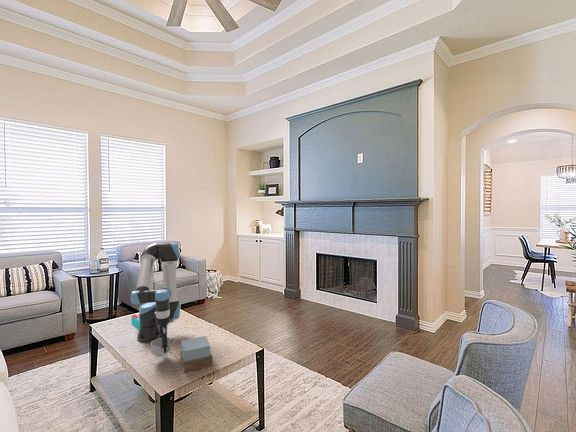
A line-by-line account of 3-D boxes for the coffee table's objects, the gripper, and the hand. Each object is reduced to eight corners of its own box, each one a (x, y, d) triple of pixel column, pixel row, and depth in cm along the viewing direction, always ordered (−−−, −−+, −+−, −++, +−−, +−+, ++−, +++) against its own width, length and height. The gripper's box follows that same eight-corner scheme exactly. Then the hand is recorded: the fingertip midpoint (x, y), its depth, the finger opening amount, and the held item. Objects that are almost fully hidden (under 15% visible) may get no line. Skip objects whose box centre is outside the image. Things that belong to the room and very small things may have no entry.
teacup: (153, 361, 170) (153, 347, 169) (149, 353, 178) (148, 340, 178) (178, 353, 178) (178, 340, 177) (173, 346, 186) (173, 333, 186)
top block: (181, 350, 177) (181, 340, 177) (205, 345, 183) (205, 335, 183) (184, 362, 164) (184, 351, 164) (210, 356, 170) (210, 345, 170)
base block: (180, 360, 177) (180, 350, 177) (206, 354, 184) (206, 344, 184) (184, 373, 164) (184, 362, 164) (212, 366, 171) (212, 355, 171)
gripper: (154, 311, 185) (155, 346, 186) (157, 325, 164) (158, 364, 166) (167, 309, 188) (168, 343, 190) (172, 322, 168) (173, 360, 169)
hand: (164, 353), depth 178 cm, fingers closed on teacup, 11 cm apart
